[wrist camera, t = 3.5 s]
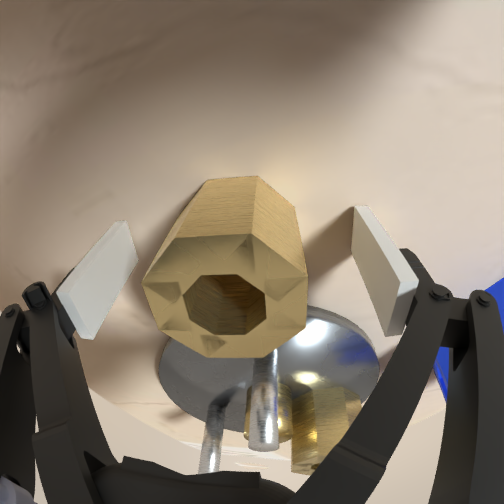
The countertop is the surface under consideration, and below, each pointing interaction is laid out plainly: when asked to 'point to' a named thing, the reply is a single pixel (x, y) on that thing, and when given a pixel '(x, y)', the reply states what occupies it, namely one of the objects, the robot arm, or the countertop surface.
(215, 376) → the carrier
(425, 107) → the countertop surface
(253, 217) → the octagonal wooden tube
